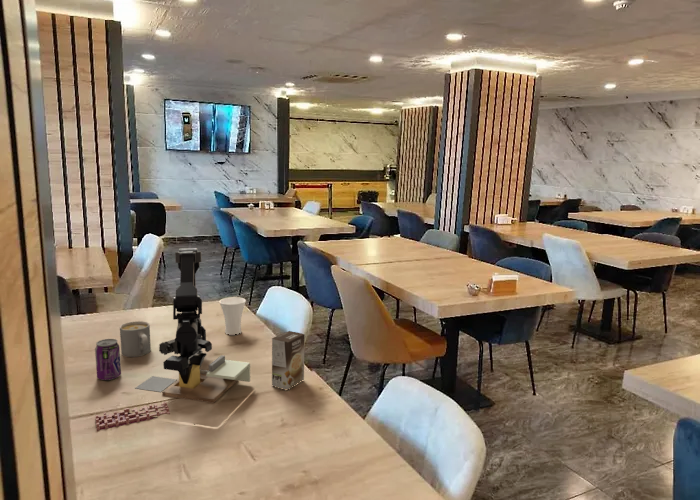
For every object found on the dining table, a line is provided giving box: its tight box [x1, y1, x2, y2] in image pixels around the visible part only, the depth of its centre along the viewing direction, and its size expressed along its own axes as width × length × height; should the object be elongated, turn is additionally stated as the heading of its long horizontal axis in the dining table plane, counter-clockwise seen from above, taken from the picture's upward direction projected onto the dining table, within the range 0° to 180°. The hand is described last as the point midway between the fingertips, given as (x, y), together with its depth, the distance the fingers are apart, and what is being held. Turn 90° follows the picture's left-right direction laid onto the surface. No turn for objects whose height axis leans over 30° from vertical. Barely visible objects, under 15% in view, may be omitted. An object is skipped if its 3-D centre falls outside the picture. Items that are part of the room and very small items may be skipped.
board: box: [161, 369, 239, 403], centre depth 161 cm, size 16×17×2 cm
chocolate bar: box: [95, 401, 170, 431], centre depth 144 cm, size 7×19×2 cm, turn 118°
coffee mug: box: [119, 320, 152, 358], centre depth 187 cm, size 13×10×10 cm
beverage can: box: [94, 338, 122, 381], centre depth 167 cm, size 7×7×12 cm
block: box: [178, 365, 201, 389], centre depth 162 cm, size 4×4×6 cm
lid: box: [206, 354, 251, 383], centre depth 159 cm, size 11×9×8 cm
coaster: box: [134, 375, 178, 393], centre depth 163 cm, size 9×9×1 cm
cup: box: [218, 296, 247, 336], centre depth 210 cm, size 10×10×14 cm
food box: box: [271, 330, 306, 390], centre depth 165 cm, size 9×6×16 cm
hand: (189, 380), depth 162 cm, fingers closed on block, 4 cm apart
